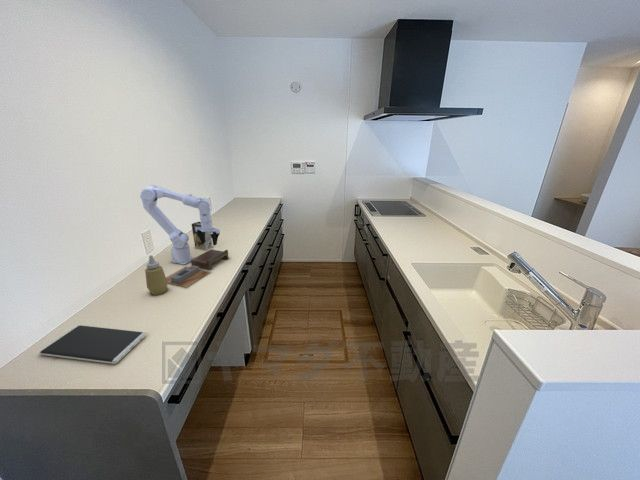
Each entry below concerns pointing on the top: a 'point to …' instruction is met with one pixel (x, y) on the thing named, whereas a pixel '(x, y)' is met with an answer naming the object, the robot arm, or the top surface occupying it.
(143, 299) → the top surface
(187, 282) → the mat
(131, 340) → the black flat slab
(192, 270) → the remote
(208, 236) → the coffee box
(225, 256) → the shelf
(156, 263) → the squeeze bottle
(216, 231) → the robot arm
